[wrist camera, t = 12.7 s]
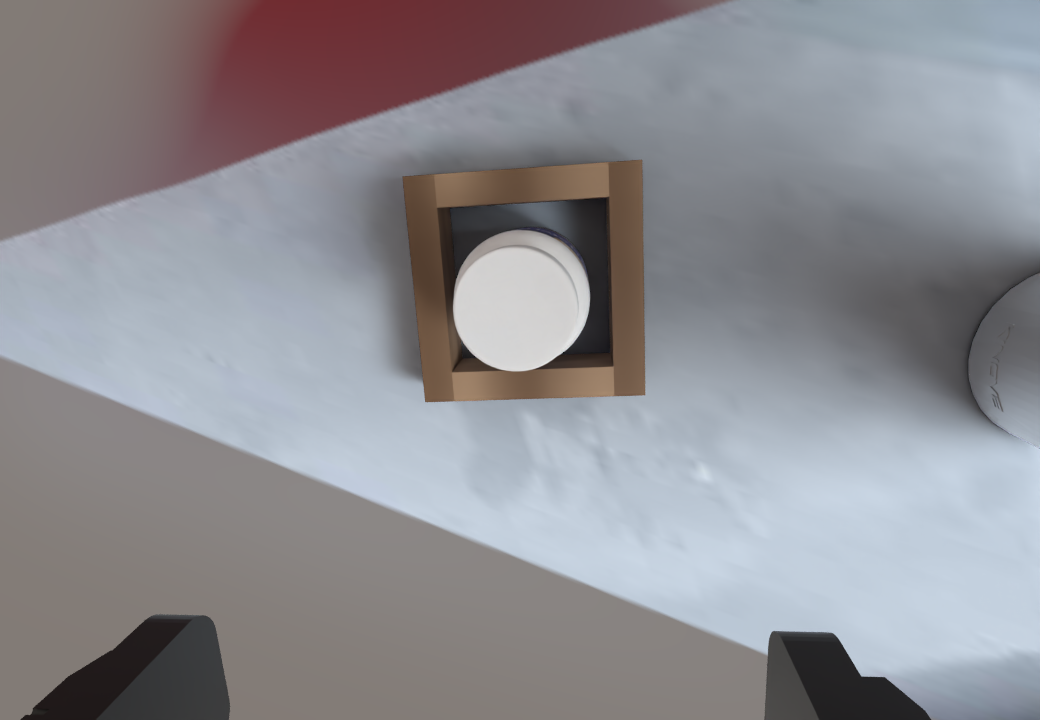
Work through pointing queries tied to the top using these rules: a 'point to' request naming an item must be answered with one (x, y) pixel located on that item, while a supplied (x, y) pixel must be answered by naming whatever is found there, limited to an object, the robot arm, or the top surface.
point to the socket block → (437, 278)
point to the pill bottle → (521, 298)
